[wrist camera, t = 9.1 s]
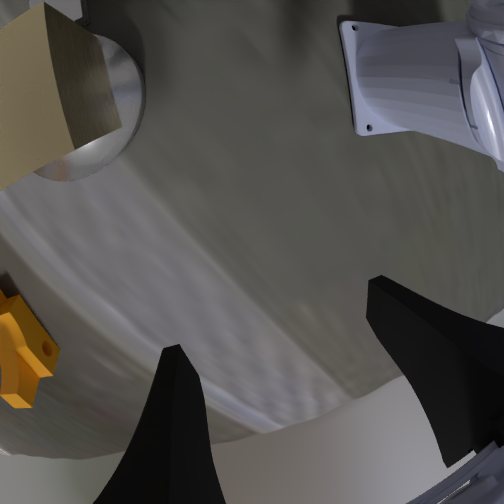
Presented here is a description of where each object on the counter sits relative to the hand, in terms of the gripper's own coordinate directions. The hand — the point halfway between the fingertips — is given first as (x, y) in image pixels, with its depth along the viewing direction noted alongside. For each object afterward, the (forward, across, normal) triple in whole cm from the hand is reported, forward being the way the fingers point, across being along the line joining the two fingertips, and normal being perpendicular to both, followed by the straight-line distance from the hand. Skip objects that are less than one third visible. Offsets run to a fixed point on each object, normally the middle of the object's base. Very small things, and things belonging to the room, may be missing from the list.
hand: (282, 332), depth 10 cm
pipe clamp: (+10, +20, 0) cm, 23 cm away
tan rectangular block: (+8, +7, -10) cm, 15 cm away
